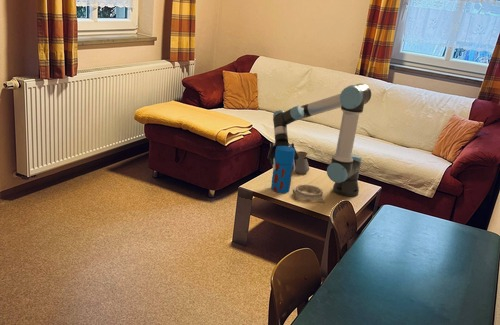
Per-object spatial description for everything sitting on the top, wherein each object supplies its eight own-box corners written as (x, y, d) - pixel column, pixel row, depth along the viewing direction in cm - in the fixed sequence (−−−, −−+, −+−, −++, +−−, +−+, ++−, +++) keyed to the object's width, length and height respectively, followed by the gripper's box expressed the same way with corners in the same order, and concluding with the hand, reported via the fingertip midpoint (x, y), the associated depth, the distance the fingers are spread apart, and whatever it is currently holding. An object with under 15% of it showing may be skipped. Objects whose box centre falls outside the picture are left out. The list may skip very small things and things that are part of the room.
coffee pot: (289, 168, 319) (292, 146, 314) (307, 169, 320) (310, 147, 315) (294, 179, 298) (297, 156, 294) (313, 181, 300) (316, 158, 295)
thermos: (280, 184, 288) (285, 144, 280) (293, 191, 280) (299, 150, 272) (267, 188, 281) (272, 146, 273) (279, 194, 273) (285, 152, 265)
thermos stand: (321, 192, 283) (322, 186, 282) (324, 203, 268) (325, 196, 267) (293, 189, 283) (294, 183, 282) (295, 199, 268) (296, 193, 267)
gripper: (298, 139, 289) (302, 173, 279) (260, 137, 284) (262, 172, 275) (302, 133, 282) (305, 167, 273) (263, 131, 278) (265, 166, 268)
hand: (284, 170), depth 274 cm, fingers closed on thermos, 11 cm apart
